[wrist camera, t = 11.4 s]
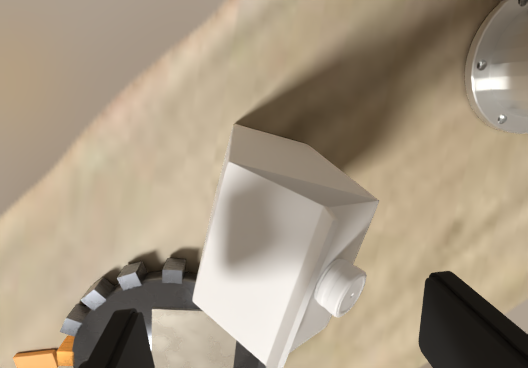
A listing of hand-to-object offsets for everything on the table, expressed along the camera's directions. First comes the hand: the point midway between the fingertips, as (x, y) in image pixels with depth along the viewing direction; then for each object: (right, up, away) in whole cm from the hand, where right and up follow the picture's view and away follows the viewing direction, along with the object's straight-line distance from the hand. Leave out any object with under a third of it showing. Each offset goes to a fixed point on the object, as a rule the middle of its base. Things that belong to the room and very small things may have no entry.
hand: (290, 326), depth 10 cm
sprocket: (-11, -13, +23) cm, 29 cm away
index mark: (-25, -14, +23) cm, 37 cm away
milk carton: (-1, +6, +19) cm, 20 cm away
